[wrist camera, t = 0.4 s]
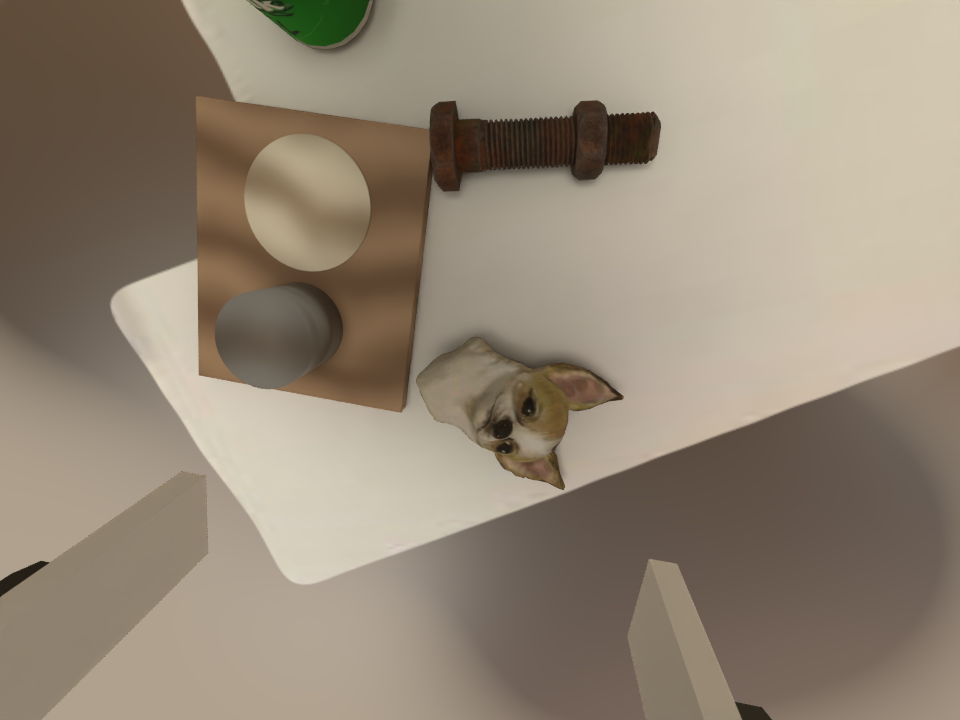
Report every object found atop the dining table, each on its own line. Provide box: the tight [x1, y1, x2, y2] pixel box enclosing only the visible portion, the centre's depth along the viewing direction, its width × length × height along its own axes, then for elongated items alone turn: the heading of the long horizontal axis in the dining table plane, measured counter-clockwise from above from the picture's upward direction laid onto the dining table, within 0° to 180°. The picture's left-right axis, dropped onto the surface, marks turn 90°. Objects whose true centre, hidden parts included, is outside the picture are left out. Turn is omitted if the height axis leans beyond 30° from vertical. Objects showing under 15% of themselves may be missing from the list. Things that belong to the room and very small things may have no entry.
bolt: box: [429, 100, 661, 191], centre depth 33 cm, size 6×5×15 cm
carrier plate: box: [196, 96, 433, 412], centre depth 36 cm, size 22×18×8 cm
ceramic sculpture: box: [416, 337, 624, 490], centre depth 37 cm, size 11×9×15 cm
